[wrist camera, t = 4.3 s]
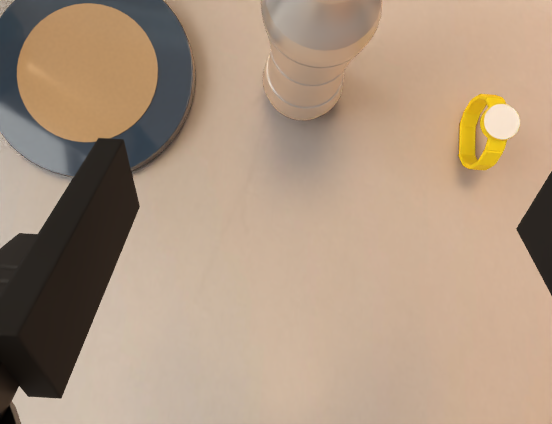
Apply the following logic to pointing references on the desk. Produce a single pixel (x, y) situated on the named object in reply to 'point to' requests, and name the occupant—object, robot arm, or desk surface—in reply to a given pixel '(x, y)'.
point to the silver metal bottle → (313, 51)
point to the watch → (486, 130)
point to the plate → (92, 79)
